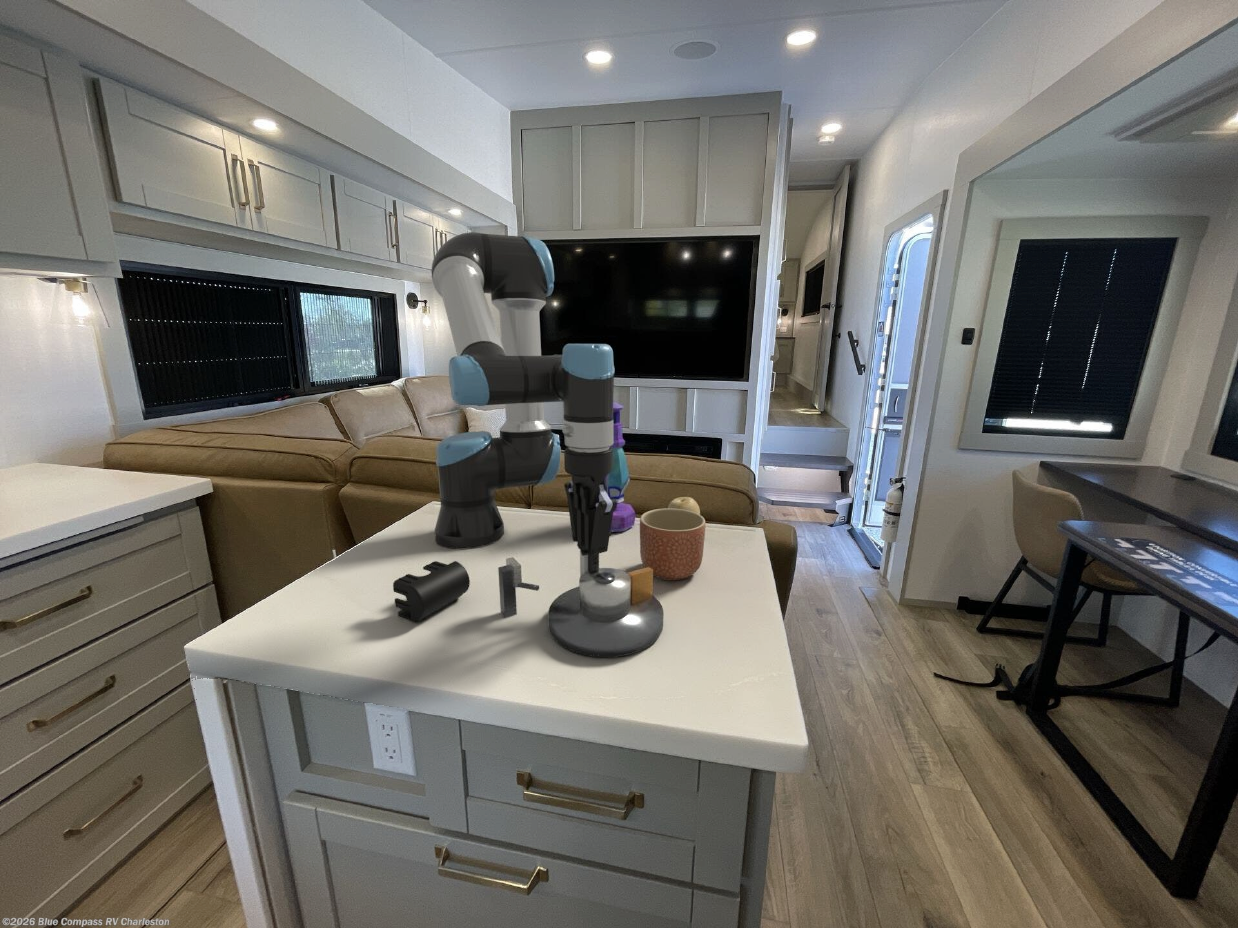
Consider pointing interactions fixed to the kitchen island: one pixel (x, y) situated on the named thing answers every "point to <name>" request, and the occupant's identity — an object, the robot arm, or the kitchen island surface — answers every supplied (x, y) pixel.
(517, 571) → the gray post with pin
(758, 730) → the kitchen island surface
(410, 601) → the end cap
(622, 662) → the kitchen island surface
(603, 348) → the robot arm
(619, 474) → the lantern
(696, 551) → the planter
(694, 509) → the apple
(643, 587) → the turntable
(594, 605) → the cover
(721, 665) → the kitchen island surface
